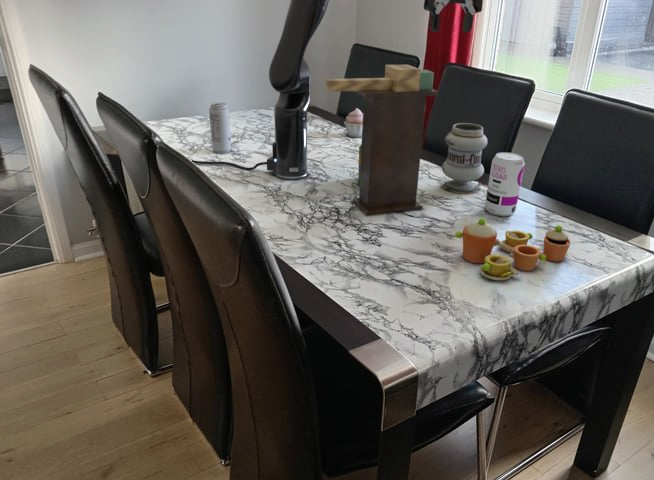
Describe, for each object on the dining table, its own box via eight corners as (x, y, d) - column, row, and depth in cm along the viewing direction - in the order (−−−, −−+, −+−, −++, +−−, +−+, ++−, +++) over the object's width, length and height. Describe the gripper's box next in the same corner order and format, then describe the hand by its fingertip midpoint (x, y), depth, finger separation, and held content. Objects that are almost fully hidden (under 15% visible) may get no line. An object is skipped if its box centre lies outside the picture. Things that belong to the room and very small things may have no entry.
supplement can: (516, 208, 157) (527, 154, 150) (513, 219, 150) (523, 162, 143) (487, 203, 159) (495, 150, 152) (482, 213, 152) (491, 158, 145)
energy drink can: (234, 152, 188) (231, 105, 181) (216, 154, 185) (212, 106, 178) (227, 147, 192) (223, 101, 185) (209, 149, 189) (205, 102, 182)
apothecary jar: (431, 186, 169) (438, 124, 160) (455, 178, 177) (463, 118, 168) (465, 198, 162) (474, 134, 153) (488, 188, 170) (498, 127, 161)
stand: (361, 216, 146) (367, 94, 132) (347, 202, 154) (351, 85, 140) (427, 208, 153) (440, 92, 139) (410, 195, 161) (420, 84, 147)
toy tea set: (492, 287, 117) (500, 244, 112) (444, 256, 128) (450, 216, 124) (578, 262, 130) (589, 222, 125) (528, 236, 141) (536, 198, 136)
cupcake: (353, 130, 220) (354, 104, 215) (373, 135, 216) (374, 108, 211) (338, 135, 214) (338, 107, 209) (358, 140, 209) (359, 112, 204)
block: (417, 90, 139) (419, 72, 137) (410, 86, 143) (411, 69, 141) (432, 89, 141) (434, 72, 139) (424, 86, 144) (426, 69, 142)
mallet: (332, 93, 130) (332, 70, 128) (322, 87, 136) (322, 65, 133) (418, 91, 138) (420, 69, 136) (405, 85, 144) (407, 64, 141)
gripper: (477, -46, 133) (467, 30, 141) (423, -50, 128) (416, 29, 136) (496, -46, 127) (484, 34, 135) (440, -50, 122) (431, 33, 130)
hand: (450, 32), depth 135 cm, fingers open, 8 cm apart
